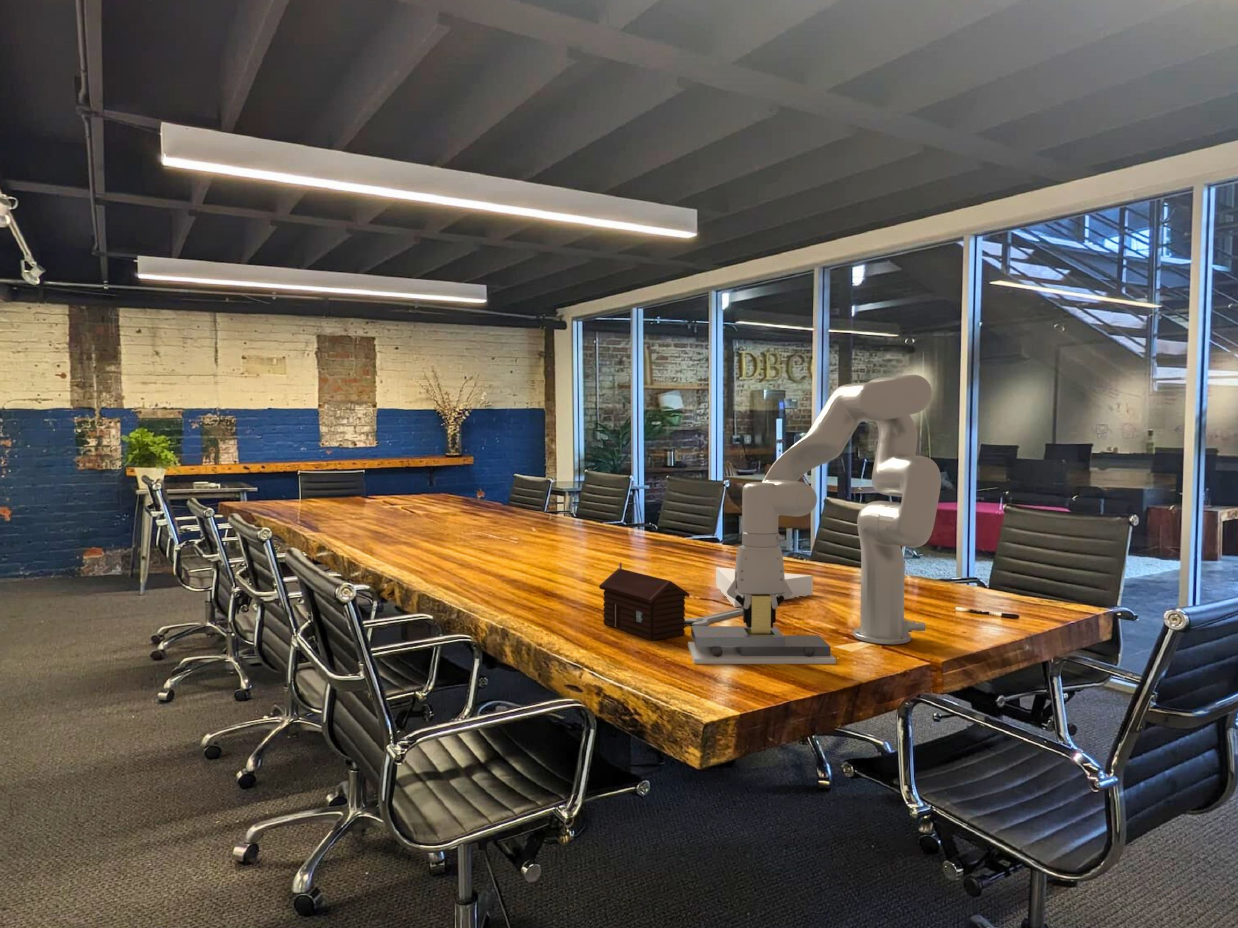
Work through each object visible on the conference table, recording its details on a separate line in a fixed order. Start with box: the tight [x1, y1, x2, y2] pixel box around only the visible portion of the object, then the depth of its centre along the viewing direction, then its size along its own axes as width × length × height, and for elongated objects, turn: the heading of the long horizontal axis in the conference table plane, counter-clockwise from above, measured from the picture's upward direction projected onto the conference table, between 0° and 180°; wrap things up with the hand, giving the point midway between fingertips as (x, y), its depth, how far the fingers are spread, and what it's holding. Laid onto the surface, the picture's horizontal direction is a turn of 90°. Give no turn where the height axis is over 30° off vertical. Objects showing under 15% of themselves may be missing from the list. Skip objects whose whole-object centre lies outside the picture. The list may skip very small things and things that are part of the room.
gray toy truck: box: [690, 625, 832, 657], centre depth 163 cm, size 28×10×4 cm, turn 90°
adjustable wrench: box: [684, 607, 743, 626], centre depth 193 cm, size 25×6×2 cm, turn 129°
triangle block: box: [715, 566, 814, 608], centre depth 227 cm, size 30×26×6 cm
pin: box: [748, 595, 771, 635], centre depth 163 cm, size 4×4×10 cm
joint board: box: [687, 641, 837, 665], centre depth 163 cm, size 29×13×1 cm, turn 90°
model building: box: [599, 562, 691, 642], centre depth 184 cm, size 21×12×15 cm, turn 36°
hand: (759, 625), depth 163 cm, fingers closed on pin, 4 cm apart
